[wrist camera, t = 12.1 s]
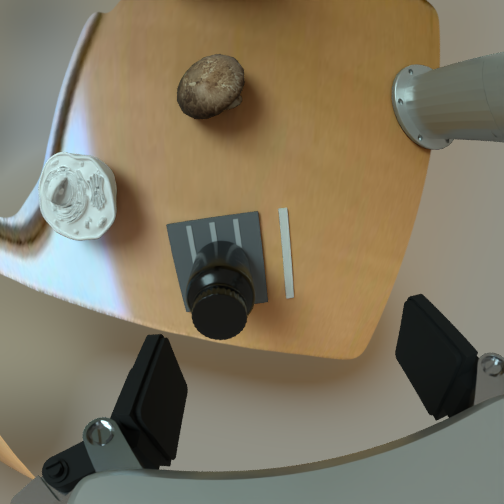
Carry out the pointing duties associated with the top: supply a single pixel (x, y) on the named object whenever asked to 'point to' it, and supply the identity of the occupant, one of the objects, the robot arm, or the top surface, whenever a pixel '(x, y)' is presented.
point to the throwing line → (286, 252)
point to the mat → (218, 229)
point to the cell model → (78, 195)
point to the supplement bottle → (220, 290)
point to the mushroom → (211, 86)
